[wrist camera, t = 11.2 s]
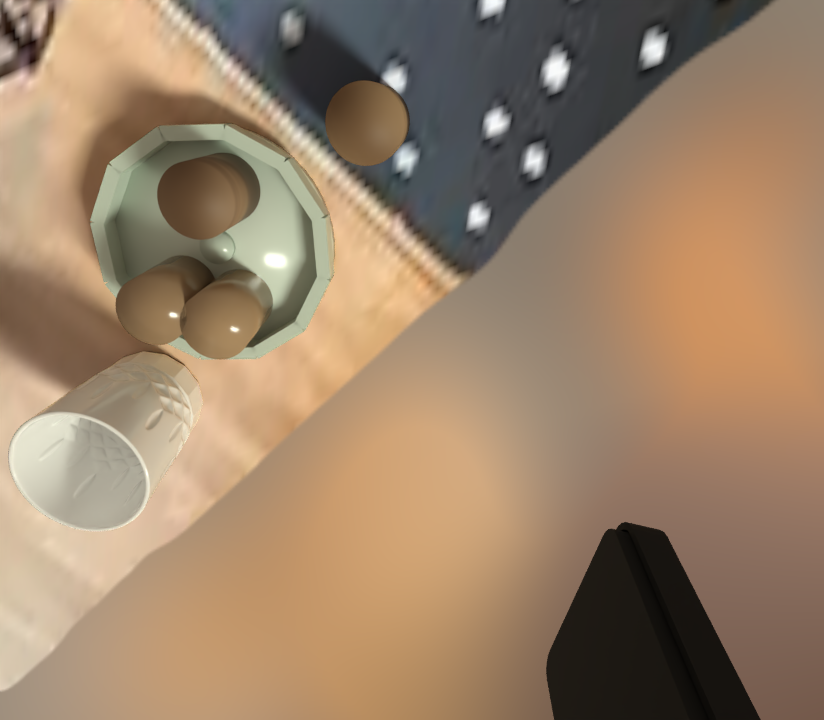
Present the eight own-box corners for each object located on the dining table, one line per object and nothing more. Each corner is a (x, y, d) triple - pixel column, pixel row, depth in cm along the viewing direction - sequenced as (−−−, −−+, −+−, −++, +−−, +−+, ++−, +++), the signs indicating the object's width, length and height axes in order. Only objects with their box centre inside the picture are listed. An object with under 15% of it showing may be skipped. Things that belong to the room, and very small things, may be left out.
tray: (244, 73, 34) (206, 68, 29) (377, 279, 39) (366, 309, 33) (67, 204, 38) (3, 221, 32) (208, 379, 42) (173, 422, 37)
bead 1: (264, 161, 35) (238, 171, 31) (255, 229, 37) (229, 247, 32) (196, 145, 35) (159, 152, 30) (190, 213, 37) (154, 229, 32)
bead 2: (385, 68, 34) (376, 63, 29) (422, 133, 35) (419, 138, 31) (327, 108, 35) (309, 110, 30) (365, 170, 36) (354, 180, 32)
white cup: (87, 346, 42) (-14, 415, 32) (198, 339, 41) (128, 408, 32) (118, 445, 45) (34, 534, 35) (222, 440, 44) (164, 529, 35)
